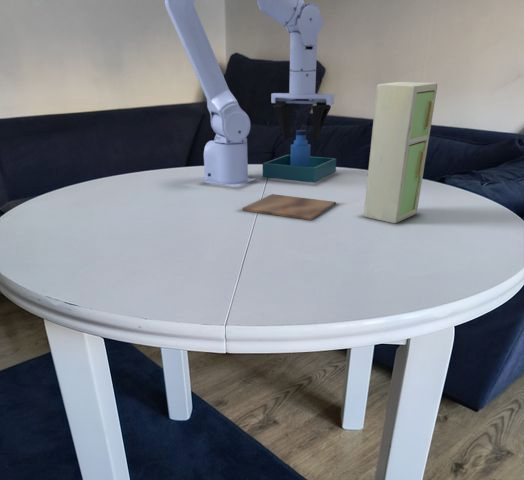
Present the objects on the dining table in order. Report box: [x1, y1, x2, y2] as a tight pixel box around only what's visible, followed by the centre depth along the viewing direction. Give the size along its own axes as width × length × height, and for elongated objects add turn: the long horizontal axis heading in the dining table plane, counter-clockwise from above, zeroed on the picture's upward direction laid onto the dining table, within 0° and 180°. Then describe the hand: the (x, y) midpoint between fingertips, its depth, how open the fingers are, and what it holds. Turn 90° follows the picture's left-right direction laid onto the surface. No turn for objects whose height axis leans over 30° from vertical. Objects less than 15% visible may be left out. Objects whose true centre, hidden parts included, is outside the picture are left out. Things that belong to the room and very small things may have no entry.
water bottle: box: [290, 129, 312, 167], centre depth 114 cm, size 5×5×10 cm
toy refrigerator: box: [363, 81, 438, 224], centre depth 82 cm, size 8×7×21 cm
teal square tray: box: [262, 154, 337, 183], centre depth 115 cm, size 13×13×4 cm
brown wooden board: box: [242, 193, 336, 221], centre depth 93 cm, size 14×12×1 cm
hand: (301, 138), depth 112 cm, fingers open, 7 cm apart
